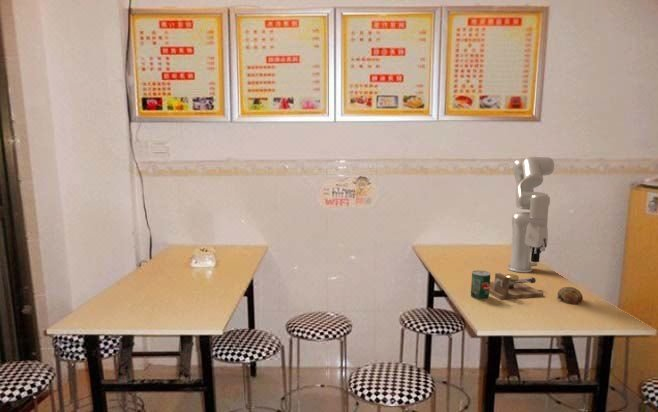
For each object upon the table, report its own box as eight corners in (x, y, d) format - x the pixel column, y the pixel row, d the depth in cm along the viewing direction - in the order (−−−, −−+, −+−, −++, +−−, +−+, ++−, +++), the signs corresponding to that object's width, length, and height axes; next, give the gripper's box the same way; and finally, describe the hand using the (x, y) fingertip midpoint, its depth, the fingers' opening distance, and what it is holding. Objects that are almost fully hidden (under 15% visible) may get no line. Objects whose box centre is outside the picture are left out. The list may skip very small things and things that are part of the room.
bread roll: (554, 305, 212) (550, 290, 209) (570, 293, 215) (566, 279, 212) (573, 313, 203) (569, 297, 200) (589, 300, 206) (585, 285, 203)
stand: (515, 282, 232) (517, 264, 231) (543, 296, 213) (545, 275, 211) (475, 285, 227) (477, 266, 225) (500, 299, 207) (501, 278, 206)
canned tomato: (488, 300, 206) (490, 276, 204) (469, 298, 208) (471, 274, 207) (489, 295, 213) (490, 271, 211) (471, 292, 216) (472, 269, 214)
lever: (508, 289, 216) (509, 278, 215) (500, 285, 222) (501, 274, 221) (538, 287, 220) (539, 276, 219) (530, 283, 226) (531, 272, 225)
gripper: (520, 219, 218) (517, 258, 221) (542, 224, 204) (538, 266, 206) (534, 219, 220) (531, 257, 223) (556, 224, 206) (553, 265, 208)
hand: (534, 261), depth 214 cm, fingers closed
